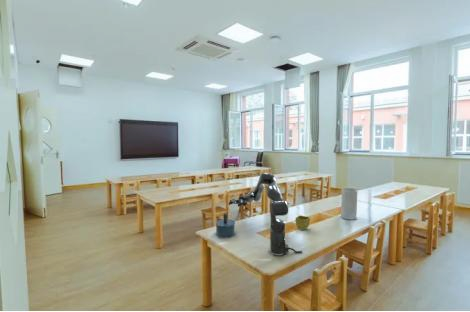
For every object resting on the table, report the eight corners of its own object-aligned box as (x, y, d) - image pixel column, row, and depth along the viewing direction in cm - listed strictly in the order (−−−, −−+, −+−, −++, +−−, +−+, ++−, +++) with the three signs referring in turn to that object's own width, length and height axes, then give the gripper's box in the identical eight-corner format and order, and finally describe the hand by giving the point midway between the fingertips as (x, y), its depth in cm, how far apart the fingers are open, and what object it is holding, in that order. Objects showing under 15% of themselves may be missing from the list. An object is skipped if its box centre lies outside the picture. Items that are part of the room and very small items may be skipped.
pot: (235, 231, 193) (235, 220, 192) (232, 238, 180) (232, 227, 179) (218, 230, 195) (218, 219, 194) (214, 237, 182) (214, 226, 181)
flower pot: (299, 225, 203) (300, 215, 203) (310, 228, 198) (310, 217, 197) (295, 229, 197) (295, 217, 196) (305, 231, 191) (305, 220, 190)
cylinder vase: (359, 219, 216) (360, 191, 214) (345, 220, 215) (346, 191, 213) (351, 214, 229) (352, 187, 226) (338, 215, 228) (339, 188, 225)
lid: (236, 221, 193) (236, 210, 192) (233, 228, 179) (233, 217, 178) (218, 220, 195) (217, 210, 194) (213, 227, 181) (213, 216, 180)
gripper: (237, 194, 211) (226, 198, 198) (252, 196, 203) (241, 200, 190) (237, 202, 212) (226, 207, 199) (252, 205, 204) (241, 210, 191)
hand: (233, 204), depth 195 cm, fingers open, 8 cm apart
